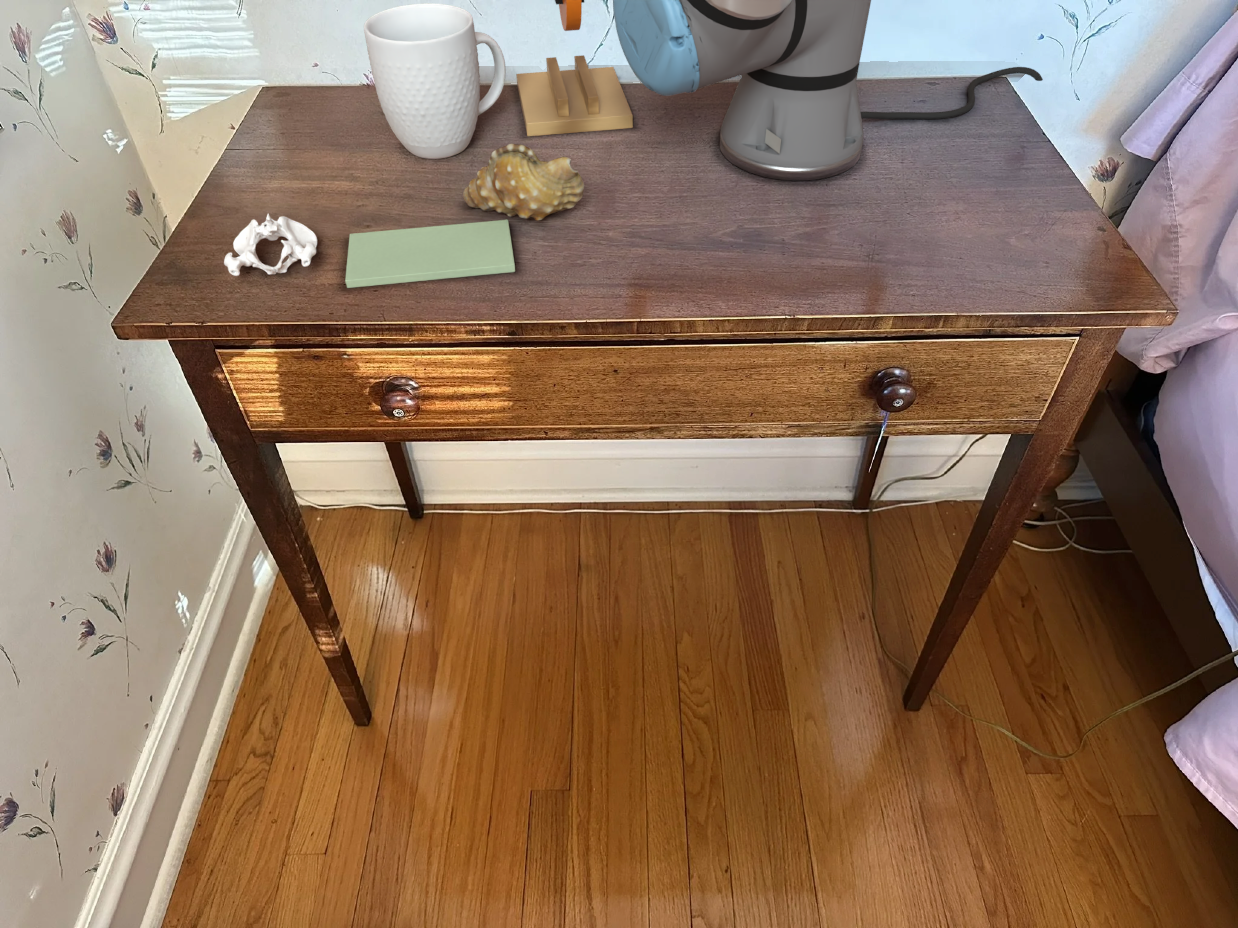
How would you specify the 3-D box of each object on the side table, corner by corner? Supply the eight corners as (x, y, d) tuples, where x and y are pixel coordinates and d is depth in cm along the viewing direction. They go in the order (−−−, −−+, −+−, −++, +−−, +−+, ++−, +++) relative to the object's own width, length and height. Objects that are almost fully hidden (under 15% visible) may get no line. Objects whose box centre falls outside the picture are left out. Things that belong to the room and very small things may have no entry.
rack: (613, 79, 112) (613, 50, 109) (632, 128, 102) (632, 97, 99) (517, 86, 110) (514, 57, 108) (527, 136, 101) (524, 106, 98)
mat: (508, 226, 87) (508, 219, 86) (515, 272, 81) (514, 264, 81) (351, 241, 85) (349, 233, 85) (347, 288, 80) (345, 280, 79)
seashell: (570, 191, 93) (488, 243, 92) (531, 118, 89) (445, 171, 88) (597, 201, 85) (508, 257, 84) (556, 121, 81) (462, 179, 80)
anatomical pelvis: (215, 254, 77) (220, 210, 81) (231, 293, 80) (236, 248, 84) (310, 243, 78) (311, 199, 82) (322, 281, 81) (323, 238, 85)
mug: (482, 106, 106) (468, -13, 97) (536, 138, 100) (526, 14, 91) (369, 143, 100) (343, 19, 90) (420, 180, 94) (397, 51, 84)
